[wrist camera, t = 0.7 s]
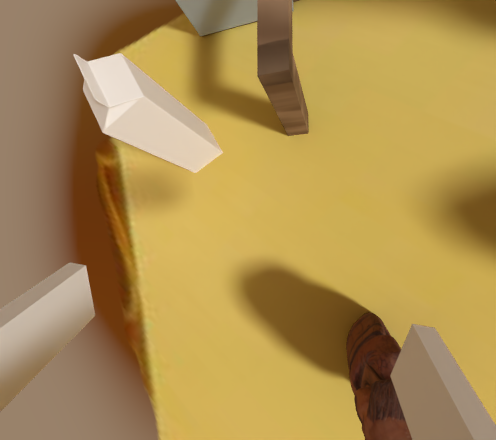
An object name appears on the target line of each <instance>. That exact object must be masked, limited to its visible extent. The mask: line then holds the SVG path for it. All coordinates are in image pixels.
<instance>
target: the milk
mask: <svg viewBox="0 0 496 440" xmlns="http://www.w3.org/2000/svg"><path fill="white" fill-rule="evenodd" d="M74 58H75V59H76V62H77V64H78V66H79V68H80V70H81V72H82V74H83V76H84V86H83V91H84V94H85V96H86V98H87V100H88V102H89V104H90V106H91V109H92V110H93V113H94V115H95V117H96V119H97V121H98V123H99V125H100V127H101V130H102V132H103V133H105V134H107V135H109V136H111V137H114V138H116V139H118V140H121V141H123V142H125V143H127V144H130V145H132V146H134V147H137V148H139V149H141V150H144V151H146V152H148V153H150V154H153V155H155V156H157V157H160V158H162V159H164V160H167V161H169V162H171V163H173V164H176V165H178V166H180V167H183V168H185V169H187V170H190V171H192V172H194V173H196V172H198V171H199V170H200V169H202V168H203V167H205V166H206V165H207V164H209V163H210V162H211V161H213V160H214V159H215V158H217V157H218V156H219V155H221V154H222V153H223V152H222V150H221V148H220V147H219V145H218V143H217V141H216V140H215V138H214V136H213V135H212V133H211V131H210V129H209V128H208V126H207V125H206V124H205V123H204V122H203V121H202V120H200V119H199V118H198V117H197V116H196V115H194V114H193V113H192V112H191V111H190V110H188V109H187V108H186V107H185V106H184V105H182V104H181V103H180V102H179V101H178V100H176V99H175V98H174V97H173V96H172V95H170V94H169V93H168V92H167V91H166V90H164V89H163V88H162V87H161V86H160V85H158V84H157V83H156V82H155V81H154V80H153V79H151V78H150V77H149V76H148V75H147V74H145V73H144V72H143V71H142V70H141V69H139V68H138V67H137V66H136V65H135V64H133V63H132V62H131V61H130V60H129V59H127V58H126V57H125V56H124V55H123V54H121V53H119V54H115V55H111V56H108V57H104V58H100V59H96V60H93V61H89V62H87V61H85V60H84V59H82V58H81V57H79V56H78V55H76V54H74Z"/></svg>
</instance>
